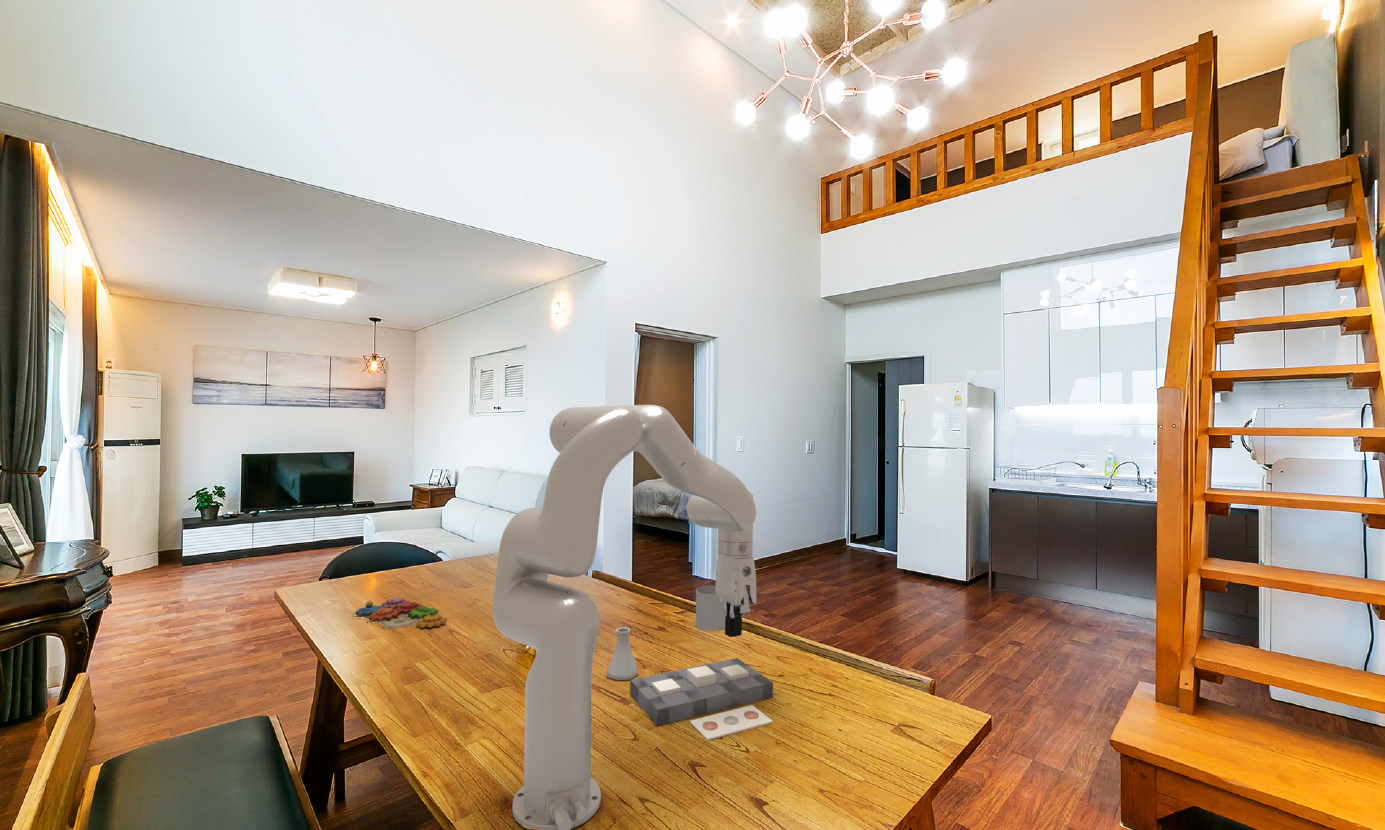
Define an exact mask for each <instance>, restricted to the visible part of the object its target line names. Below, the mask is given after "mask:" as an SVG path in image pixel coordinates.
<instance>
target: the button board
mask: <svg viewBox="0 0 1385 830" xmlns="http://www.w3.org/2000/svg"><path fill="white" fill-rule="evenodd" d="M733 665H739V666H741V667H742V668H744V669H745V670H747V671H748V672H749V677H745V678H741V679H736V680H732V681H730V680H729V679H727V678H726V677H725V676H724V675H722V674H721V673H720V668H724V667H728V666H733ZM701 666H707V667H708V668H710V669H711V670H712V671H713V672H715V673H716V684H714V685H710V686H705V687H701V688H695V687H694V686H693V685H692V684H691V683H689V682H688V681H687V669H691V668H696V667H701ZM667 679H673V680H674V681H675V682H676V683H677V684H678V685H679V686H680V687H681V692H678V693H674V694H669V695H665V696H659V695H658V694H657V693H656V692H655V691H654V690H653V689H652V683H653V682H657V681H662V680H667ZM629 694H630V696H631V698H633V700H634V701H635V702H636V703H637V705H639V707H640V708H641V709H642V710H643V711H644V712H645V714H646V715H647V716H648V718H650V719H651V721H652V722H653V723H654V724H655V725H656V726H658V727H659V726H662V725H666V724H670V723H674V722H679V721H683V720H686V719H690V718H694V717H695V718H696V717H698V716H699V717H700V716H704V715H706V714H711V713H715V712H718V711H723V710H727V709H730V707H731V708H734V707H738V705H739V706H742V705H747V704H750V703H751V704H752V703H754V702H759V701H762V700H767V699H771V698H773V697H774V682H773V681H771V680H770V679H769V678H767V677H766V676H764V675H763V674H762V673H760V672H758V671H757V670H755V668H753V667H751V666H750V665H748V664H747V663H745V662H744V661H742V660H741V659H740V658H738V657H735V658H732V659H725V660H721V661H716V662H711V663H706V664H702V665H701V664H700V665H696V666H691V667H686V668H682V669H677V670H673V671H668V672H662V673H657V674H652V675H647V676H643V677H642V676H641V677H638V678H632V679H630V680H629Z"/></svg>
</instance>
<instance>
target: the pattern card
mask: <svg viewBox="0 0 1385 830" xmlns="http://www.w3.org/2000/svg"><path fill="white" fill-rule="evenodd" d="M689 723H690V725H691V726H693V727H694V728H695V729H696V731H698V733H700V735H701V736H702V737H703V738H705V740H706V741H711V740H715V739H718V738H721V737H725V736H729V735H732V734H736V733H739V732H743V731H746V730H751V729H755V728H757V727H758V728H759V727H761V726H765V725H769V724H772V723H774V722H773V719H771V718H769V717H768V716H767V715H766V714H765V713H764V712H763V711H761V710H760V709H758V708H757V707H755V705H753V704H751V705H746V706H743V707H739V708H735V709H732V710H727V711H723V712H719V713H715V714H711V715H706V716H704V717H699V718H695V719H692V720H691V719H690V720H689Z"/></svg>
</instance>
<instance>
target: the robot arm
mask: <svg viewBox="0 0 1385 830" xmlns="http://www.w3.org/2000/svg"><path fill="white" fill-rule="evenodd" d="M548 434H549V439H550V443H551V444H552V446H553V448H554V449H555V450H556V452H558V453H559V454H558V455H557V457H556V459H555V460H554V461H553V464H552V466H551V468H550V470H549V473H548V476H547V477H548V478H547V482H546V486H545V494H544V499H543V504H542V507H529V508H526V509H523V510H520V511H519V512H517V513H516V514H515V515H514V516H512V518H511V519H510V520H509V521H508V523H507V524H506V526H505V528H504V530H503V532H502V535H501V539H500V542H499V549H498V555H497V563H496V564H497V565H496V572H495V573H496V575H495V579H494V581H495V582H494V587H493V588H494V589H493V597H492V617H493V618H492V619H493V622H494V625H495V628H497V629H496V630H497V631H498V632H499V633H500V634H501V635H503V636H504V637H506V638H508V639H509V640H512V641H514V642H517V643H519V644H521V645H525V646H528V647H529V648H532V649H534V651H535V658H534V661H533V663H532V665H531V667H530V668H529V671H528V674H527V677H526V680H525V685H524V686H525V687H524V690H525V691H524V704H525V705H524V751H523V752H524V757H523V759H524V761H523V762H524V763H523V767H524V769H523V785H522V786H521V788H520V789H519V790H518V791H517V792H516V793H515V795H514V797H513V800H512V810H511V811H512V816H513V818H515V819H514V821H515V822H516V821H517V822H518V823H519V824H521V825H523V826H525V827H528V828H530V829H538V830H571V829H574V827H575V828H577V827H579V826H581V825H583V824H584V823H586V822H587V821H589V820H590V819H591V818H592V817H593V816H594V815H595V814H596V813H597V811H598V810H599V808H600V806H601V801H602V800H601V799H602V792H601V791H602V790H601V786H600V784H599V783H598V782H597V780H595V779H594V778H593V777H591V771H592V769H591V767H592V764H591V763H592V762H591V761H592V755H591V754H592V751H591V749H592V685H593V684H592V683H593V681H592V680H593V679H592V678H593V664H594V662H593V661H594V654H595V648H596V643H597V637H598V632H599V628H600V613H599V612H600V611H599V608H598V606H597V603H596V602H595V600H594V599H593V598H592V597H591V596H590V595H588V593H585V592H584V591H583V590H580V589H578V588H575V587H572V586H568V585H564V584H561V583H557V582H553V581H552V582H550V581H549V580H548V579H549V575H552V576H556V577H562V578H578V577H581V576H583V575H585V574H587V572H588V571H589V570H590V569H591V567H592V566H593V565H594V561H595V558H596V557H595V556H596V552H597V547H598V546H597V545H598V537H599V527H600V517H601V509H602V508H601V507H602V499H603V494H604V493H603V492H604V488H605V485H606V481H607V479H608V477H609V476H610V474H611V473H612V471H614V469H615V467H617V465H618V464H619V463H620V462H621V461H622V460H624V458H626V457H628V456H629V455H630V454H631V453H632V452H637V453H640V454H641V455H642V456H643V457H644V458H645V460H646V461H647V462H648V463H649V464H650V465H651V466H652V468H653V469H654V470H655V472H656V473H657V474H658V475H659V476H660V477H661V479H662V480H663V481H664V483H666V484H667V485H669V486H670V487H673V488H674V489H677V490H678V491H681V492H684V493H686V494H689V495H691V496H690V498H689V499H688V501H687V505H686V514H687V517H688V519H689V520H690V522H692V523H693V524H694V525H696V526H697V527H698V526H699V527H702V528H708V529H717V554H716V555H717V559H716V567H715V582H714V584H715V585H714V586H715V590H716V595H717V596H718V597H719V600H720V601H721V602H722V603H723V605H724V614H725V628H724V635H725V636H728V637H729V638H733V637H740V636H742V633H743V617H744V614H748V613H750V611H751V609H750V608H751V607H750V605H755V604H757V573H756V572H757V571H756V567H755V566H756V564H755V559H754V557H753V553H754V552H753V551H754V550H753V549H754V548H753V547H754V545H753V544H754V540H753V539H754V523H755V521H756V519H757V518H756V516H757V509H756V508H757V507H756V504H755V503H756V502H755V500H754V496H753V493H752V492H750V491H749V490H748V488H747V487H746V485H745V484H744V483H743V482H742V480H741V479H740V478H739V477H738V476H737V475H736V474H734V472H732V471H730V470H728V469H727V468H725V467H724V466H722V465H720V464H719V463H717V462H716V461H714V460H713V459H711V458H708V457H707V456H705V455H703V454H701V453H700V451H699V450H698V448H696V446H695V445H694V443H693V442H692V441H691V440H690V438H689V437H688V435H687V434H686V433H685V431H684V430H683V428H682V426H680V425H679V423H678V422H677V420H676V419H675V418H674V416H673V415H672V414H671V413H670V411H669V410H668V409H666V408H665V407H663V406H660V405H656V404H633V405H631V404H628V405H627V404H626V405H623V404H621V405H606V406H605V405H603V406H602V405H601V406H599V405H598V406H579V407H576V406H575V407H572V406H571V407H568V408H564V409H562V410H561V411H559V412H558V413H557V414H555V416H554V418H553V419H552V421H551V423H550V426H549V433H548ZM517 822H516V823H517ZM518 823H517V824H518ZM519 824H518V825H519ZM521 825H520V826H521Z"/></svg>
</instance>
